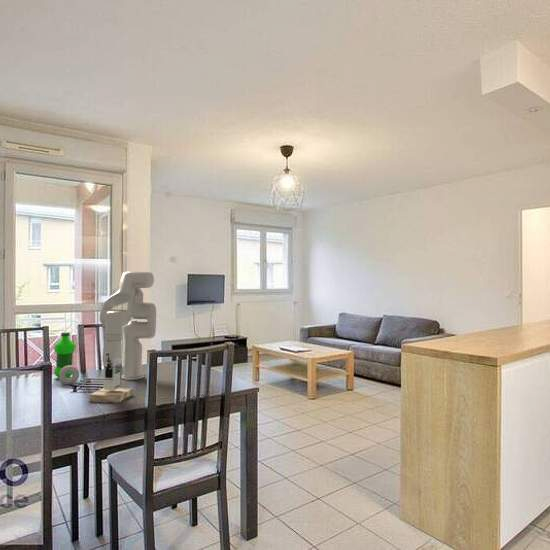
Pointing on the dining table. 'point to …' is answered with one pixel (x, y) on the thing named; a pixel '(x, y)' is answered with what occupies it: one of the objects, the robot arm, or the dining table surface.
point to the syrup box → (113, 376)
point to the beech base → (110, 395)
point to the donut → (64, 378)
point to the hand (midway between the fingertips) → (112, 375)
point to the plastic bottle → (64, 353)
